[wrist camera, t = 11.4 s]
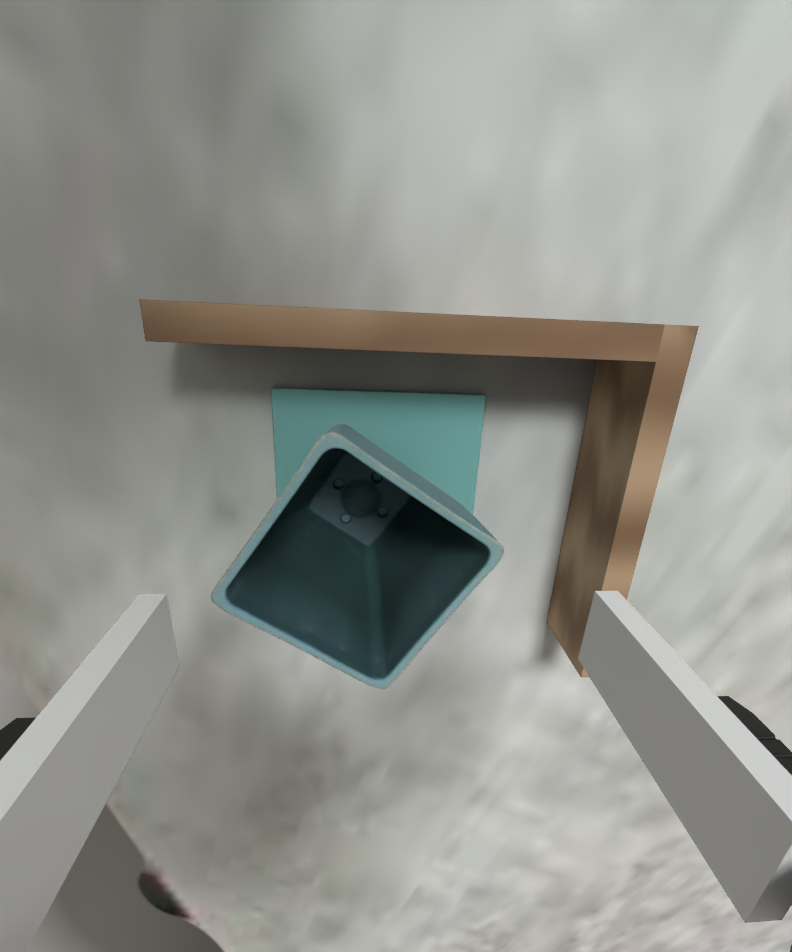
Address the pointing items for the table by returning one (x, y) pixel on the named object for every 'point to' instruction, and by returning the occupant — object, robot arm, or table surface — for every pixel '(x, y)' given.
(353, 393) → the pad
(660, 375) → the corner arena
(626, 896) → the table surface
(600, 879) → the table surface
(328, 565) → the flower pot
